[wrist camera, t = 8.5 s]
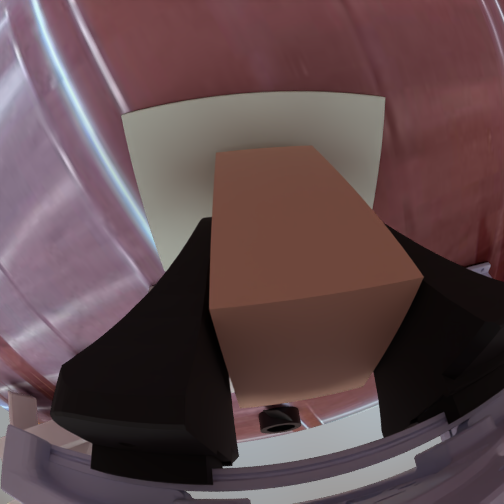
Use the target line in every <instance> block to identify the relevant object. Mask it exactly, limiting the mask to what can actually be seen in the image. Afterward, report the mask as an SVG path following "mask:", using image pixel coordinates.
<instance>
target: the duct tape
mask: <svg viewBox="0 0 504 504" xmlns="http://www.w3.org/2000/svg"><path fill="white" fill-rule="evenodd" d="M259 422H260V430H261V432H262V433H281V432H287V431H291V430H294V429H296V428H298V427H300V426H301V421H300V416H299V411H298V408H296V407H278V408H273V409H269V410H263V412H261V413H260V414H259Z"/></svg>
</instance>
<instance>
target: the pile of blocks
mask: <svg viewBox="0 0 504 504" xmlns="http://www.w3.org/2000/svg"><path fill="white" fill-rule="evenodd" d="M8 402H9V417H10V425H13V426H15V427H17V428H20V429H22V430H24V431H27V432H29V433H32V434H34V435H36V436H38V437H40V438H42V439H44V440H46V441H48V442H49V443H50V444H53V445H56V446H59V447H62V448H65V449H69V450H72V451H76V452H80V453H83V454H87V455H91V454H92V443H90V442H88V441H86V440H84V439H82V438H80V437H78V436H76V435H75V434H73V433H71V432H69V431H67V430H65V429H64V428H62V427H61V426H59V425H58V424H57V423H56V422H54V421H53V420H50V421H47V422H45V423H42V424H39V425H38V417H37V399H36V398H34V397H33V396H31V395H26V394H22V393H17V392H13V391H9V390H8ZM5 439H6V436H4V437H1V438H0V458H1V460H2V462H3V453H4V446H5ZM7 504H22V503H21V502H19V501H17V500H16V499H15V500H13V501H11V502H8V503H7Z"/></svg>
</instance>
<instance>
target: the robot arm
mask: <svg viewBox="0 0 504 504" xmlns="http://www.w3.org/2000/svg"><path fill="white" fill-rule="evenodd" d="M385 226H386V227H387V228H388V229H389V231H390V232H391V233H392V234H393V236H394V237H395V238H396V240H397V241H398V242H399V243H400V245H401V246H402V247H403V249H404V250H405V251H406V253H407V254H408V255H409V257H410V258H411V260H412V261H413V262H414V264H415V265H416V266H417V268H418V269H419V271H420V272H421V274H422V275H423V276H424V278H423V280H422V282H421V284H420V287H419V289H418V291H417V293H416V295H415V297H414V299H413V302H412V304H411V306H410V308H409V310H408V312H407V314H406V315H405V317H404V319H403V321H402V323H401V325H400V327H399V329H398V331H397V332H396V334H395V336H394V338H393V339H392V341H391V343H390V345H389V346H388V348H387V350H386V351H385V353H384V355H383V356H382V358H381V360H380V361H379V363H378V365H377V366H376V368H375V369H374V371H373V372H374V377H375V382H376V388H377V393H378V400H379V408H380V416H381V429H382V433H383V437H384V438H382V439H379V440H376V441H373V442H370V443H367V444H364V445H361V446H358V447H354V448H351V449H347V450H344V451H340V452H336V453H332V454H328V455H323V456H319V457H314V458H309V459H304V460H299V461H294V462H287V463H280V464H273V465H264V466H254V467H242V468H222V466H232V463H233V462H234V461H235V460H236V459H237V458H238V457H239V454H238V447H237V440H236V433H235V425H234V417H233V408H232V399H231V389H230V379H229V373H228V370H227V367H226V364H225V361H224V358H223V354H222V351H221V348H220V345H219V341H218V338H217V335H216V331H215V328H214V324H213V321H212V317H211V314H210V310H209V289H210V252H211V227H212V217H206V218H202V219H201V220H200V221H199V223H198V225H197V226H196V228H195V230H194V231H193V233H192V235H191V236H190V238H189V239H188V241H187V243H186V244H185V246H184V247H183V249H182V250H181V252H180V253H179V255H178V256H177V257H176V259H175V260H174V261H173V263H172V264H171V266H170V267H169V268H168V270H167V271H166V272H165V274H164V275H163V276H162V277H161V279H160V280H159V281H158V282H157V283H156V285H155V286H154V287H153V288H152V289H151V290H150V291H149V293H148V294H147V295H146V296H145V297H144V298H143V299H142V300H141V301H140V302H139V303H138V304H137V305H136V306H135V307H134V308H133V309H132V310H131V311H130V312H129V313H128V314H127V315H126V316H125V317H124V318H122V319H121V320H120V321H119V322H118V323H117V324H116V325H114V326H113V327H112V328H111V329H110V330H109V331H107V332H106V333H105V334H104V335H103V336H101V337H100V338H99V339H98V340H96V341H95V342H94V343H93V344H91V345H90V346H89V347H87V348H86V349H84V350H83V351H82V352H80V353H79V354H77V355H76V356H75V357H73V358H72V359H70V360H69V361H68V362H66V363H65V364H63V365H62V367H61V370H60V373H59V377H58V381H57V385H56V389H55V393H54V397H53V402H52V406H51V411H50V415H51V417H52V419H53V421H54V422H56V423H57V424H58V425H59V426H61V427H62V428H64V429H65V430H67V431H69V432H71V433H73V434H75V435H76V436H78V437H80V438H82V439H84V440H86V441H88V442H90V443H92V454H91V455H87V454H83V453H80V452H76V451H72V450H69V449H65V448H62V447H59V446H56V445H53V444H50V443H49V442H48V441H46V440H44V439H42V438H40V437H38V436H36V435H34V434H32V433H29V432H27V431H24V430H22V429H20V428H17V427H15V426H13V425H8V428H7V433H6V439H5V446H4V453H3V462H2V463H3V464H2V475H1V489H2V490H3V491H4V492H5V493H7V494H8V495H10V496H11V497H13V498H14V499H16V500H17V501H19V502H21V503H22V504H251V503H250V500H249V499H248V498H245V499H194V498H192V497H191V495H190V494H189V493H187V492H186V491H209V492H212V491H215V492H218V491H245V490H257V489H267V488H275V487H283V486H290V485H296V484H301V483H307V482H311V481H317V480H321V479H325V478H330V477H334V476H337V475H341V474H345V473H348V472H352V471H355V470H358V469H361V468H365V467H368V466H371V465H373V464H376V463H379V462H382V461H385V460H387V459H390V458H392V457H395V456H397V455H400V454H402V453H405V452H407V451H409V450H411V449H413V448H416V447H418V446H420V445H422V444H424V443H426V442H428V441H430V440H432V439H434V438H436V437H438V436H441V440H442V442H441V443H439V444H437V445H435V446H433V447H431V448H429V449H427V450H425V451H424V452H422V453H420V454H418V455H416V456H415V458H414V459H415V463H416V466H417V467H415V468H412V469H410V470H408V471H405V472H403V473H401V474H398V475H396V476H393V477H391V478H388V479H385V480H382V481H379V482H376V483H374V484H371V485H367V486H364V487H361V488H358V489H355V490H351V491H347V492H344V493H340V494H336V495H332V496H328V497H324V498H319V499H315V500H310V501H305V502H300V503H295V504H504V282H502V281H498V280H495V279H493V278H492V277H491V276H490V274H489V273H488V271H489V269H490V267H491V265H490V263H489V262H487V263H483V264H479V265H475V266H471V267H467V268H465V267H463V266H460V265H458V264H456V263H454V262H452V261H450V260H447V259H445V258H443V257H441V256H440V255H438V254H436V253H434V252H432V251H430V250H428V249H426V248H424V247H423V246H421V245H419V244H417V243H416V242H414V241H412V240H411V239H409V238H407V237H405V236H404V235H402V234H401V233H399V232H397V231H396V230H394V229H392V228H391V227H389V226H388V225H386V224H385Z"/></svg>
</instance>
